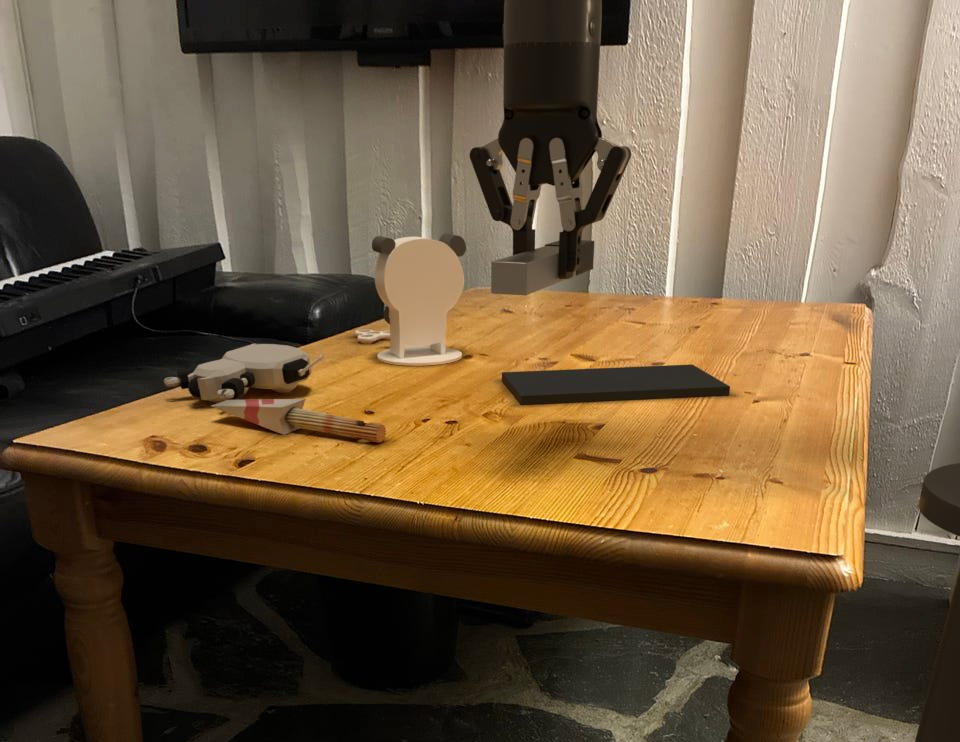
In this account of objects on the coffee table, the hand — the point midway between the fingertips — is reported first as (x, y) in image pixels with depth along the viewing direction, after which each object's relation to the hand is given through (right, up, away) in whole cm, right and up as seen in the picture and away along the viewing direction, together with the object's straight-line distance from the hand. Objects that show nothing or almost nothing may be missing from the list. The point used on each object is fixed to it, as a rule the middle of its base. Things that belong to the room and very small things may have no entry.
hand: (545, 276), depth 81 cm
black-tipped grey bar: (0, 0, 0) cm, 0 cm away
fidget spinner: (-21, +13, +57) cm, 62 cm away
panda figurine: (-14, +7, +45) cm, 48 cm away
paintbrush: (-24, -11, +13) cm, 29 cm away
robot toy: (-32, -4, +26) cm, 42 cm away
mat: (+10, -2, +29) cm, 30 cm away
